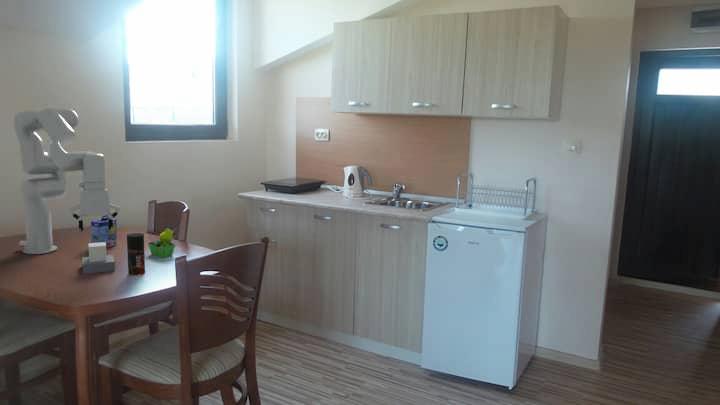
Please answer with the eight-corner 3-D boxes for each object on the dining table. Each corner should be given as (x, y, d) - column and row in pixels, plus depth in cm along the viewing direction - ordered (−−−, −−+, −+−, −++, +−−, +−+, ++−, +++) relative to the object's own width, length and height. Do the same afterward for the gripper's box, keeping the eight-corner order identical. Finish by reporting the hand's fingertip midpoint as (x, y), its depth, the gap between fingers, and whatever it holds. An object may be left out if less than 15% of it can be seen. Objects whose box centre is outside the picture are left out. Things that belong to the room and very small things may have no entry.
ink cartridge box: (100, 249, 233) (98, 217, 231) (91, 248, 235) (89, 216, 233) (118, 244, 242) (116, 214, 240) (109, 243, 244) (107, 212, 242)
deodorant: (134, 276, 197) (133, 237, 195) (124, 273, 200) (123, 235, 198) (148, 272, 202) (147, 234, 200) (138, 269, 205) (137, 232, 203)
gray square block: (83, 274, 199) (82, 264, 198) (82, 267, 208) (82, 257, 207) (115, 271, 204) (114, 261, 203) (113, 264, 213) (112, 254, 213)
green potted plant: (147, 254, 229) (146, 228, 227) (166, 250, 235) (165, 226, 233) (159, 259, 221) (158, 233, 219) (179, 255, 227) (178, 230, 226)
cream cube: (89, 262, 201) (88, 246, 200) (89, 258, 207) (88, 243, 206) (106, 260, 204) (106, 245, 203) (106, 256, 209) (105, 242, 208)
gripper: (68, 188, 193) (70, 233, 196) (120, 186, 201) (121, 230, 204) (68, 185, 200) (70, 229, 203) (118, 184, 208) (119, 226, 211)
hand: (96, 229), depth 204 cm, fingers open, 9 cm apart
